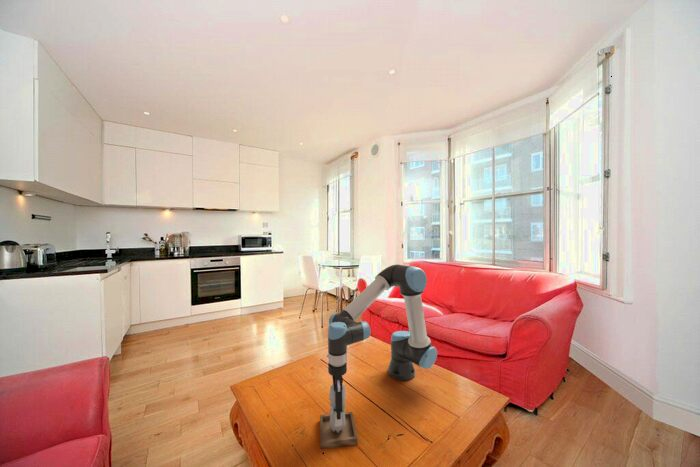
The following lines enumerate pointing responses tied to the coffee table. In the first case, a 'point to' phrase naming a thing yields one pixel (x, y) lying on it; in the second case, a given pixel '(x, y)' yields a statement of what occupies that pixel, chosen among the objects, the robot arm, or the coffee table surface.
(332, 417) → the bottle
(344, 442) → the tray
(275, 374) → the coffee table surface
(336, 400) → the robot arm
